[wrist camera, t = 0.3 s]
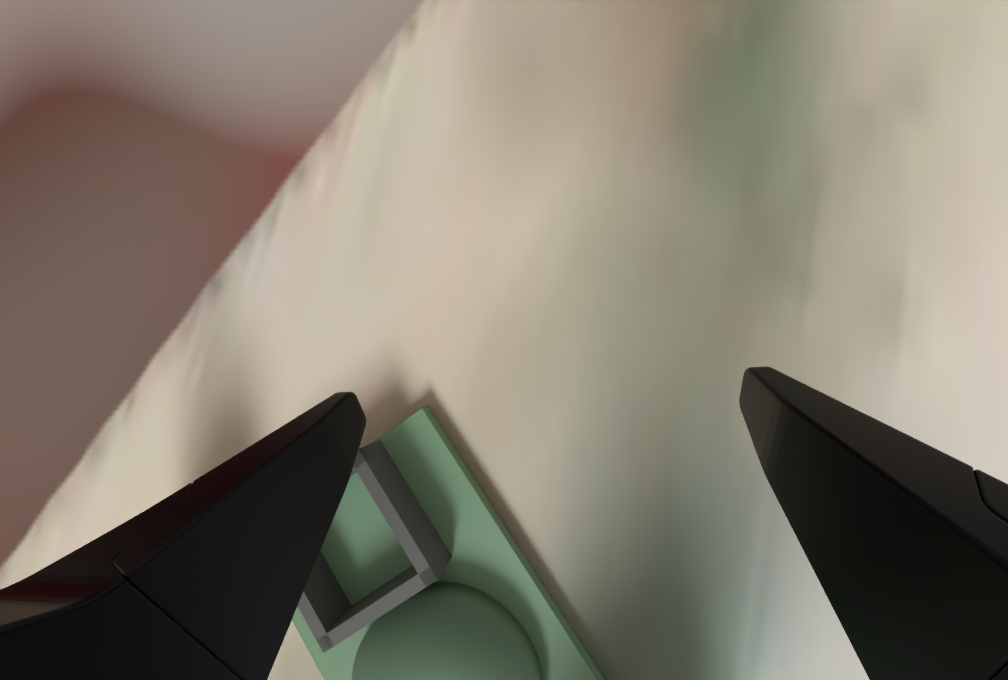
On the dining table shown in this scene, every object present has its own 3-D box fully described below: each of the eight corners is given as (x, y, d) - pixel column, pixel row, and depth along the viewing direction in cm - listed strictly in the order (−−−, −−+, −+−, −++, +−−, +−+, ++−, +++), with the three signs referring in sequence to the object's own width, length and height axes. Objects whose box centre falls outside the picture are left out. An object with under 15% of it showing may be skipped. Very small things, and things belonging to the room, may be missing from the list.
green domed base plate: (616, 698, 23) (623, 759, 19) (413, 810, 25) (386, 885, 21) (427, 405, 25) (404, 414, 22) (257, 528, 27) (211, 553, 24)
